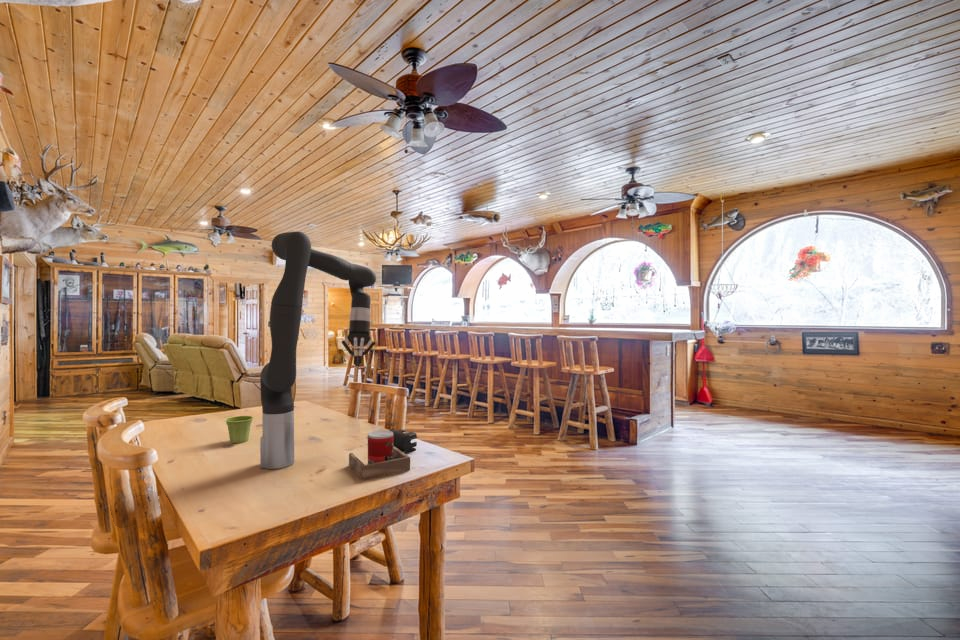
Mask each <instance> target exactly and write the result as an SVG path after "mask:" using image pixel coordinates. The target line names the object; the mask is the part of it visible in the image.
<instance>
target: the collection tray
mask: <svg viewBox="0 0 960 640" xmlns="http://www.w3.org/2000/svg"><path fill="white" fill-rule="evenodd" d="M348 467H350V469H351V470H352V471H353V470H354V473H355V474H356V475H357V476H358V477H359V478H360V479H361V480H362V481H365V480H369V479H370V478H371V479H374V477H375V478H380V477H384V476H383V475H385V476H389V475H388V474H390V475H393V473H394V474H399V473H403V471H404V472H407V470H409V471H411V457H410V456H409V455H407V453H405V452H402V451H400V450H399V449H398V448H396V447H395V446H393V460H388V461H383V462H378V463H372V464H368V463H367V464H365V463H364V462H363V461H361V459H359V457H358V456H356V455H355V454H354V453H353V452H350V453H348ZM398 472H399V473H398ZM379 476H380V477H379Z"/></svg>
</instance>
